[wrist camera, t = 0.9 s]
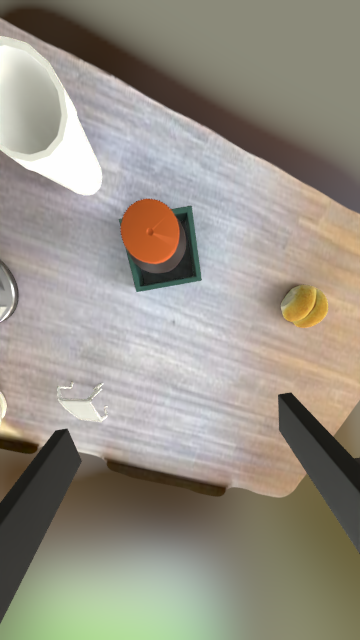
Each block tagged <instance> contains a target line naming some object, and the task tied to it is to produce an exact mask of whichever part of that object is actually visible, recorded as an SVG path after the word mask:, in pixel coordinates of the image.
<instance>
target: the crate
mask: <svg viewBox="0 0 360 640" xmlns="http://www.w3.org/2000/svg"><path fill="white" fill-rule="evenodd" d="M171 211H173V214H174V216H176V218H177V219H178V220H179V221H180V222H181V221H185V223H186V229H187V236H188V243H189V250H190V256H191V263H192V270H193V276H189V277H184V278H178V279H173V280H167V281H162V282H156V283H151V284H145V285H144V281H143V276H142V272H141V268H140V267H139V266H138V265H136V264H135V263H134V262H133V260H132V259H131V257H130V255H129V254H128V250H127V248H126V251H127V255H128V259H129V263H130V267H131V271H132V275H133V280H134V284H135V288H136V292H140V291H146V290H151V289H157V288H162V287H168V286H173V285H179V284H185V283H190V282H196V281H201V280H202V279H201V272H200V264H199V257H198V250H197V242H196V235H195V228H194V220H193V213H192V206H187V207H181V208H176V209H171ZM121 220H123V218H122V219H119V222H120V226H121V223H122V221H121ZM125 247H126V246H125Z"/></svg>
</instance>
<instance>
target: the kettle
mask: <svg viewBox="0 0 360 640" xmlns="http://www.w3.org/2000/svg"><path fill="white" fill-rule="evenodd" d="M6 409H7V404H6V400H5V398H4V396H3V394H2V393H1V391H0V425H1V421H2V418H3V417H4V415H5V413H6Z"/></svg>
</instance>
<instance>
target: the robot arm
mask: <svg viewBox="0 0 360 640" xmlns="http://www.w3.org/2000/svg"><path fill="white" fill-rule="evenodd" d="M17 304H18V288H17V284H16V281H15V279H14V277H13V275H12V273H11V272H10V270H9V269H8V268H7V266H6V265H5V264H4V263H3V262H2V261H1V260H0V322H2V321H4V320H6V319H8V318H9V317H10V316H11V315H12V314H13V313H14V311H15V309H16V307H17ZM278 405H279V431H280V432H281V434H282V435H283V437H284V438H285V440H286V441H287V443H288V445H289V446H290V448H291V449H292V451H293V452H294V454H295V455H296V457H297V458H298V460H299V461H300V463H301V464H302V466H303V468H304V469H305V471H306V472H307V474H308V475H309V477H310V478H311V480H312V481H313V483H314V484H315V486H316V487H317V489H318V490H319V492H320V494H321V495H322V497H323V498H324V500H325V501H326V503H327V504H328V506H329V507H330V509H331V511H332V512H333V513H334V515H335V516H336V518H337V520H338V521H339V523H340V524H341V526H342V527H343V529H344V530H345V532H346V534H347V535H348V537H349V538H350V540H351V541H352V542H353V544H354V546H355V547H356V549H357V550H358V552H359V553H360V458H355V459H354V458H353V457H352V456H351V455H350V454H349V453H348V452H347V451H346V450H345V449H344V448H343V447H342V446H341V445H340V444H339V442H337V440H336V439H335V438H334V437H333V436H332V435H331V434H330V433H329V432H328V431H327V430H326V429H325V428H324V427H323V426H322V425H321V424H320V422H319V421H318V420H317V419H316V418H315V417H314V416H313V415H312V414H311V413H310V412H309V411H308V410H307V409H306V408H305V407H304V406H303V405H302V404H301V403H300V402H299V400H298V399H297V398H296V397H295V396H294V395H293V394H292V393H285V394H279V395H278ZM80 464H81V458H80V456H79V454H78V451H77V449H76V447H75V445H74V442H73V440H72V438H71V436H70V433H69V431H68V429H62V430H56V431H55V432H54V433H53V435H52V436H51V437H50V439H49V440H48V441H47V442H46V444H45V445H44V446H43V448H42V449H41V450H40V452H39V453H38V454H37V456H36V457H35V458H34V460H33V461H32V462H31V464H30V465H29V466H28V467H27V469H26V470H25V471H24V473H23V474H22V475H21V476H20V478H19V479H18V480H17V482H16V483H15V485H14V486H13V487H12V489H11V490H10V491H9V492H8V494H7V495H6V496H5V497H4V499H3V500H2V501H1V503H0V623H1V621H2V619H3V617H4V615H5V613H6V611H7V609H8V607H9V605H10V603H11V601H12V599H13V597H14V595H15V593H16V591H17V589H18V587H19V585H20V583H21V581H22V579H23V577H24V575H25V573H26V571H27V569H28V567H29V565H30V563H31V561H32V559H33V557H34V555H35V553H36V551H37V549H38V547H39V545H40V543H41V541H42V539H43V537H44V535H45V533H46V531H47V529H48V527H49V526H50V523H51V522H52V520H53V518H54V516H55V513H56V511H57V509H58V508H59V506H60V503H61V502H62V500H63V497H64V496H65V494H66V491H67V489H68V487H69V485H70V483H71V482H72V480H73V477H74V476H75V474H76V472H77V470H78V468H79V466H80Z"/></svg>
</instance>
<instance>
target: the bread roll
mask: <svg viewBox="0 0 360 640" xmlns="http://www.w3.org/2000/svg"><path fill="white" fill-rule="evenodd" d="M281 310H282V314H283V316H284V318H285V319H286V320H288V321H290V322H293V324H295V325H296V326H297V327H301V328H306V327H311V326H314V325H316V324H317V323H319V322H320V321H321V320H322V319H323V318H324V317H325V316H326V314H327V312H328V302H327V299H326V297H325V295H324V294H323V293H322V292H321V291H320V290H319V289H317V288H315V287H313V286H309V285H299V286H297V287H295V288H293V289H291V290H290V292H289V293H288V294H287V295H286V296H285V298H284V299H283V301H282V303H281Z"/></svg>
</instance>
